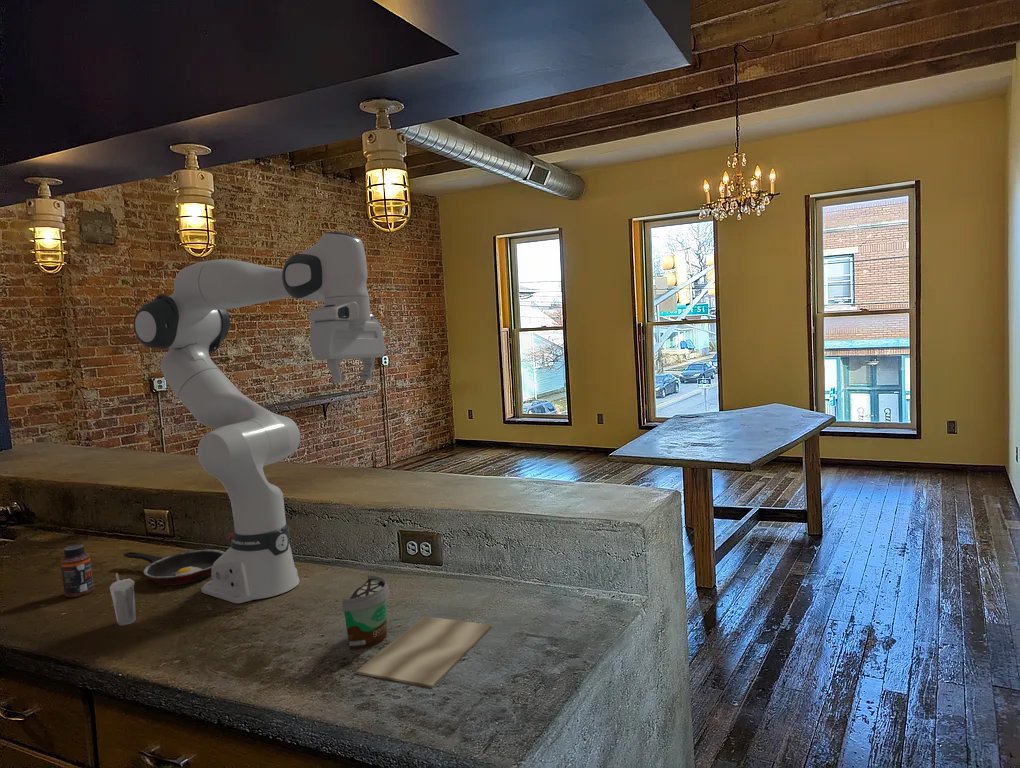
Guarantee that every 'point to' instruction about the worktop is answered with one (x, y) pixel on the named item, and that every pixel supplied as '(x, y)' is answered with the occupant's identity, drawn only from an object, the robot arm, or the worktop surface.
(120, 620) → the milkshake
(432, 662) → the oak board
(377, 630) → the food container
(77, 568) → the supplement bottle
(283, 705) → the worktop surface
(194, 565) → the frying pan
